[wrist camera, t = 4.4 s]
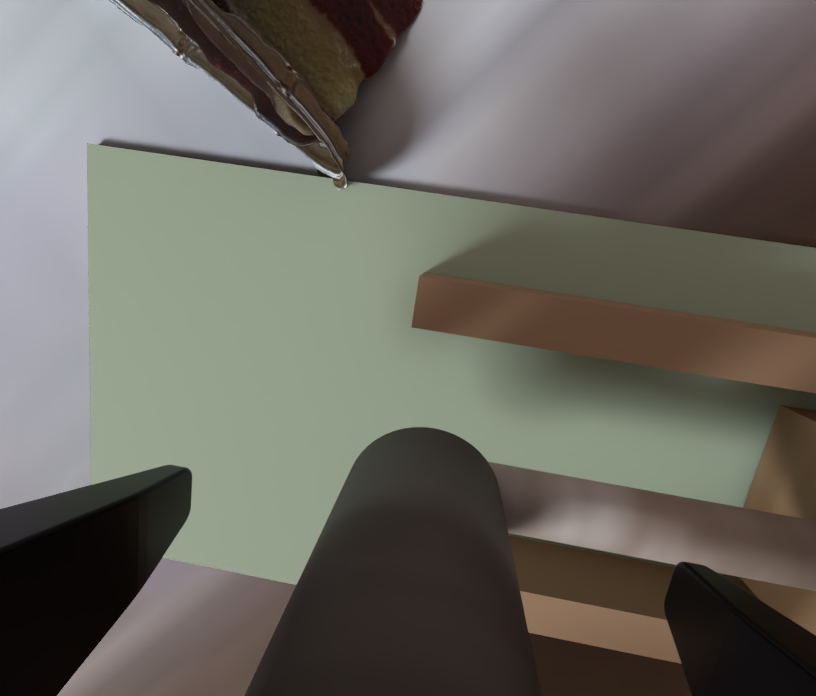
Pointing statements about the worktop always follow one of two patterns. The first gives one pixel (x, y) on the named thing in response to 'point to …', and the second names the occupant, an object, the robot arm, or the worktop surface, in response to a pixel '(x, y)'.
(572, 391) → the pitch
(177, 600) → the worktop surface
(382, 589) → the sled
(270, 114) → the chocolate cake
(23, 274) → the worktop surface
